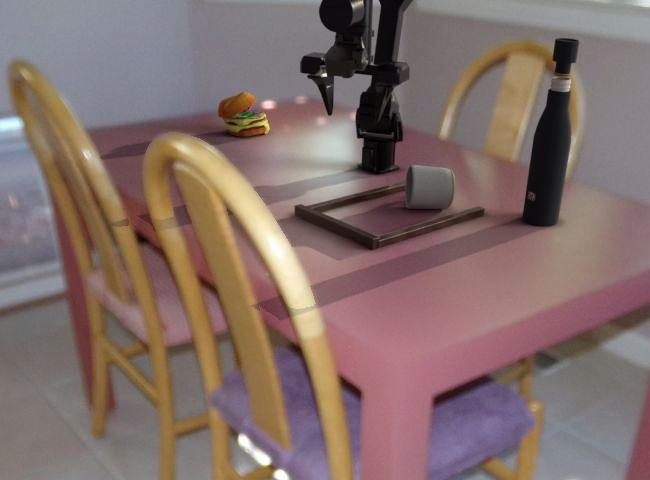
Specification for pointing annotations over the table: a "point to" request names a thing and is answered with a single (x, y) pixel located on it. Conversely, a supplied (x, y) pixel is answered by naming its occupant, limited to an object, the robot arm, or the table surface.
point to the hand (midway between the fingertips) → (353, 118)
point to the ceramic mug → (429, 187)
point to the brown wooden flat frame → (368, 239)
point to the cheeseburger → (242, 116)
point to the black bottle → (551, 143)
